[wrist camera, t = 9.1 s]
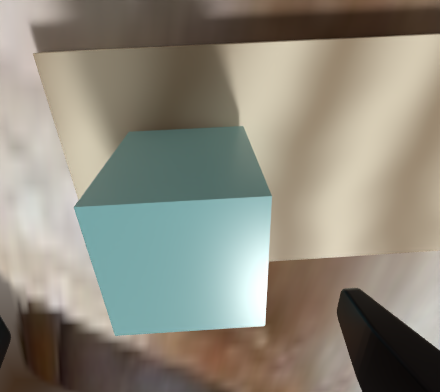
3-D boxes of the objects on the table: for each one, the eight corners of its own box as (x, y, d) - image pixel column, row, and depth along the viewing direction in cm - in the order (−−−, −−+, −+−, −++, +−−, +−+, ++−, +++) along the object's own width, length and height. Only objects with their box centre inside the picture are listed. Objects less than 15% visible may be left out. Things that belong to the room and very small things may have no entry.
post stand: (573, 27, 14) (912, 25, 7) (475, 237, 20) (611, 342, 13) (44, 52, 13) (-114, 74, 7) (105, 260, 19) (54, 381, 12)
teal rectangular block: (243, 126, 14) (272, 196, 8) (243, 220, 16) (264, 325, 10) (128, 131, 14) (73, 207, 8) (146, 226, 16) (115, 335, 10)
